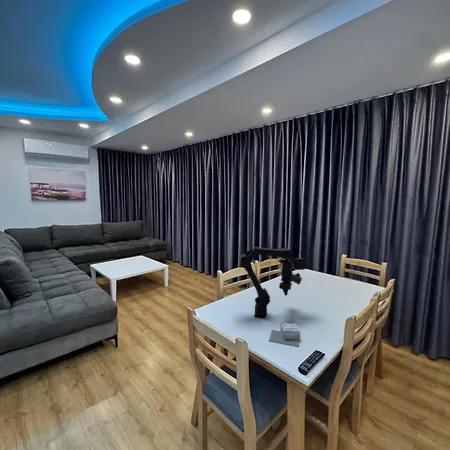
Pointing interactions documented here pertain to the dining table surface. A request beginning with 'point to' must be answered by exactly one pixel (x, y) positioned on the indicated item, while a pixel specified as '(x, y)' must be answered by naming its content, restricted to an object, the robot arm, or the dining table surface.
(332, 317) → the dining table surface
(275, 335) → the mat
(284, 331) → the medicine box
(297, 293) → the dining table surface
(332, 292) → the dining table surface
